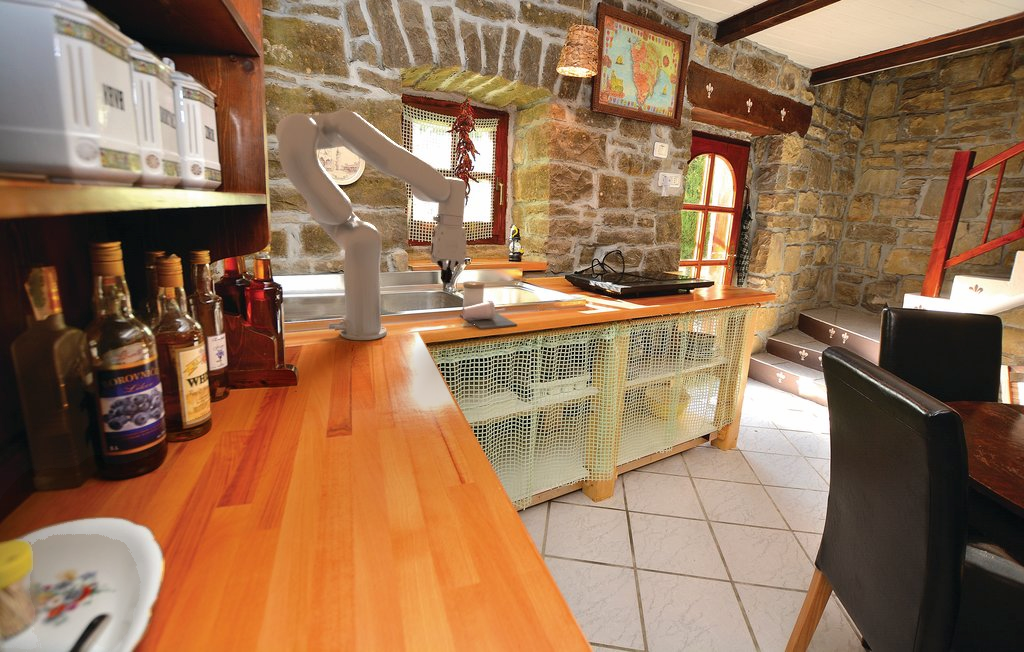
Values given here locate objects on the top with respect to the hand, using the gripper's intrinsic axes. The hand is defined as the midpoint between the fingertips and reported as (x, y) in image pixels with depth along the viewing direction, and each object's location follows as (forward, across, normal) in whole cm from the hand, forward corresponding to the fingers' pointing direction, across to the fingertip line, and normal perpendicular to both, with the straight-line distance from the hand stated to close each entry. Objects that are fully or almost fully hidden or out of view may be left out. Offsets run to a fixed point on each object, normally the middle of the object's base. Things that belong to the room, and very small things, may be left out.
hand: (445, 282), depth 147 cm
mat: (+13, +16, 0) cm, 20 cm away
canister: (+13, +16, +13) cm, 25 cm away
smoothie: (+10, +7, 0) cm, 12 cm away
